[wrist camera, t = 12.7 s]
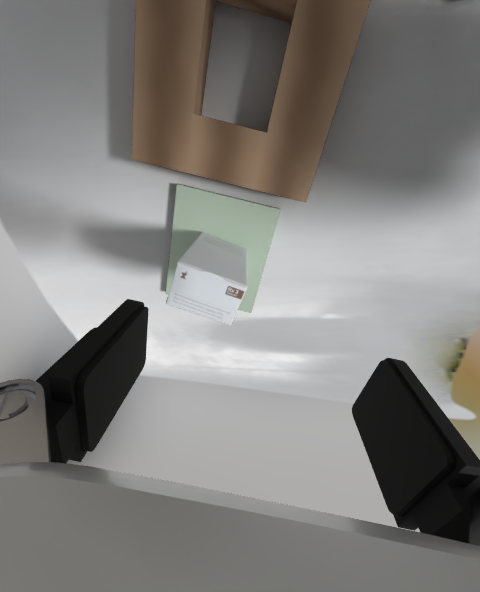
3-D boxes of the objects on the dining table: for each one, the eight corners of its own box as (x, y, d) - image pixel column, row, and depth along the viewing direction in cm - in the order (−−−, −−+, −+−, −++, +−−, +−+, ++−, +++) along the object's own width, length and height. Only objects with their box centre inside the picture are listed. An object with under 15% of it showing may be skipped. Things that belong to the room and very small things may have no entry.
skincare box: (192, 261, 32) (160, 307, 21) (202, 228, 30) (173, 259, 19) (237, 278, 32) (229, 331, 22) (250, 247, 31) (248, 287, 20)
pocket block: (374, -41, 21) (396, -80, 17) (300, 199, 29) (305, 202, 26) (158, -107, 20) (140, -161, 16) (145, 161, 28) (131, 159, 25)
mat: (279, 208, 29) (280, 209, 29) (251, 309, 36) (251, 312, 35) (179, 184, 29) (176, 184, 28) (167, 290, 35) (165, 293, 34)
